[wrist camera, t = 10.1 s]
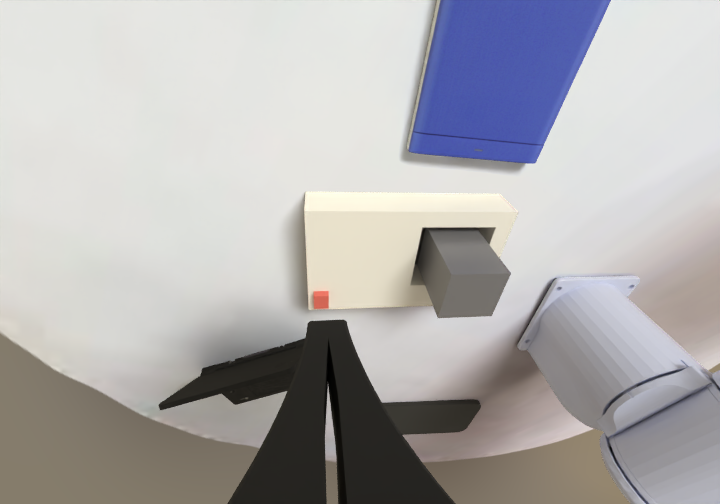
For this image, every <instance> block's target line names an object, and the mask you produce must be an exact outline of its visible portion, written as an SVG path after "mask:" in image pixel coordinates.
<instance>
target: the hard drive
mask: <svg viewBox="0 0 720 504" xmlns="http://www.w3.org/2000/svg"><path fill="white" fill-rule="evenodd" d="M610 1H611V0H437V2H436V7H435V12H434V17H433V22H432V26H431V31H430V36H429V41H428V46H427V51H426V56H425V60H424V65H423V70H422V75H421V80H420V85H419V90H418V95H417V99H416V104H415V109H414V114H413V119H412V124H411V129H410V133H409V138H408V143H407V149H408V151H409V152H412V153H418V154H427V155H439V156H451V157H462V158H473V159H485V160H495V161H507V162H518V163H536V161H537V158H538V156H539V154H540V152H541V150H542V148H543V146H544V143H545V141H546V139H547V137H548V134H549V132H550V130H551V128H552V126H553V124H554V122H555V119H556V117H557V115H558V113H559V111H560V108H561V106H562V104H563V102H564V100H565V97H566V95H567V93H568V91H569V89H570V87H571V85H572V82H573V80H574V78H575V76H576V74H577V72H578V70H579V68H580V66H581V64H582V61H583V59H584V57H585V55H586V53H587V50H588V48H589V46H590V44H591V42H592V40H593V38H594V36H595V33H596V31H597V29H598V27H599V25H600V23H601V21H602V18H603V16H604V14H605V12H606V9H607V7H608V5H609V3H610Z"/></svg>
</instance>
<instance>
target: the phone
mask: <svg viewBox="0 0 720 504" xmlns="http://www.w3.org/2000/svg"><path fill="white" fill-rule="evenodd" d="M382 404H383V406H384V407H385V409H386V411H387V412H388V414H389V416H390V417H391V419H392V420H393V422H394V423H395V425H396V426H397V428H398V430H399V431H400V433H401V434H402V435H404V434H427V433H450V432H460V431H463V430H465V429H466V428H467V427H468V425H469V424H470V423H471V421H472V420H473V418H474V417H475V415H476V414H477V412H478V411H479V409H480V407H481V405H480V403H479V401H478V400H448V401H444V400H442V401H421V402H393V403H382Z"/></svg>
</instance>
